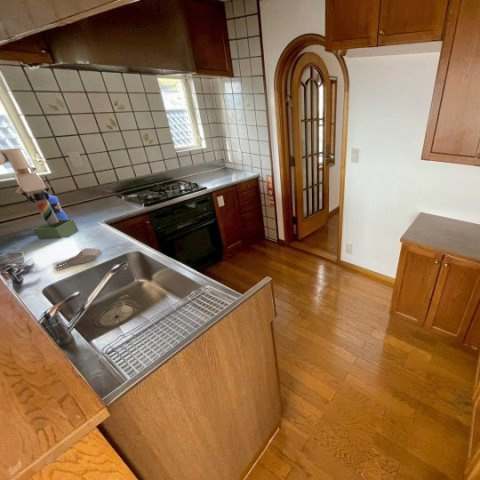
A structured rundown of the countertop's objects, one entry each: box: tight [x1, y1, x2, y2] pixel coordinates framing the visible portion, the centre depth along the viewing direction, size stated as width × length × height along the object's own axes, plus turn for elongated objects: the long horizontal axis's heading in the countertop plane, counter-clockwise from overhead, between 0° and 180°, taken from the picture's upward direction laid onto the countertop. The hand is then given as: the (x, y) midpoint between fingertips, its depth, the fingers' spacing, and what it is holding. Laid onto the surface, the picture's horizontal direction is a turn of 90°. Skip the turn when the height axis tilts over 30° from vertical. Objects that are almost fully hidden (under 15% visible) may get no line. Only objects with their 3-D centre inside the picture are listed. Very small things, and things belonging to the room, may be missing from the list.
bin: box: [32, 218, 79, 240], centre depth 169 cm, size 14×14×9 cm
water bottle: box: [39, 188, 69, 220], centre depth 183 cm, size 9×9×25 cm
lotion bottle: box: [32, 191, 59, 225], centre depth 162 cm, size 6×6×20 cm
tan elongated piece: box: [55, 247, 101, 271], centre depth 142 cm, size 10×20×5 cm, turn 132°
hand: (40, 200), depth 159 cm, fingers closed on lotion bottle, 5 cm apart
